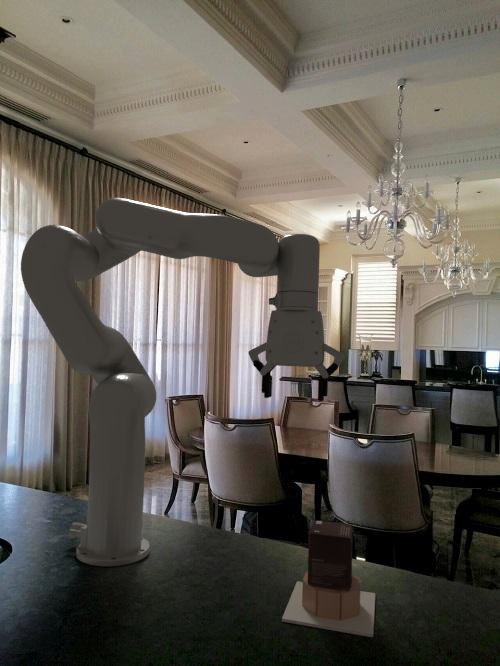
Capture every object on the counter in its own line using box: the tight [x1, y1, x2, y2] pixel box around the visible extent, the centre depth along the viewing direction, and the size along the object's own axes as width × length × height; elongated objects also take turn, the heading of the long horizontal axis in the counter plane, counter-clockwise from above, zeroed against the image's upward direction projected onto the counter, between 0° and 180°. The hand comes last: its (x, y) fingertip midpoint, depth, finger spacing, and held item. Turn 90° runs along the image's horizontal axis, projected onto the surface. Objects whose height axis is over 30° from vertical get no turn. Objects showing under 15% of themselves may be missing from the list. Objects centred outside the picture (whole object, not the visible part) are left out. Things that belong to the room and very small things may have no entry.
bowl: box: [302, 570, 362, 621], centre depth 73 cm, size 8×8×4 cm
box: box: [307, 520, 354, 590], centre depth 73 cm, size 6×6×7 cm
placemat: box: [281, 580, 376, 638], centre depth 72 cm, size 12×12×1 cm
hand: (294, 398), depth 91 cm, fingers open, 9 cm apart
